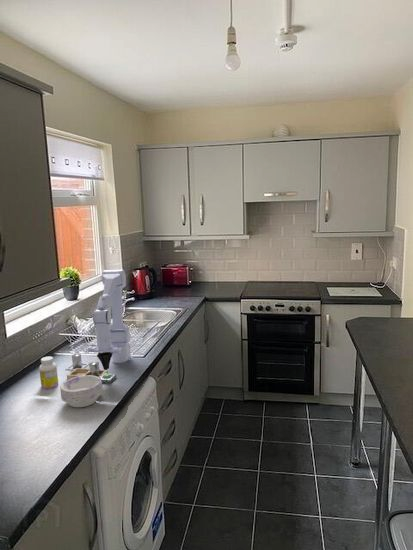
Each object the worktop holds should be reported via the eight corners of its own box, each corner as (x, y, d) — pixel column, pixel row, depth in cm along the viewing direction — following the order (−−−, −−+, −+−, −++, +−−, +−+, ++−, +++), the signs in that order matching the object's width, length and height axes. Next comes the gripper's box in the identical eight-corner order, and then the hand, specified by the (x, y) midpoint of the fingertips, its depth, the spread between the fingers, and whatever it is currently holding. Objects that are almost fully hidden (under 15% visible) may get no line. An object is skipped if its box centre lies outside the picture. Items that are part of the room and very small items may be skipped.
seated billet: (93, 374, 187) (92, 361, 186) (101, 374, 186) (100, 361, 185) (88, 378, 183) (87, 364, 182) (97, 378, 182) (96, 365, 181)
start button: (105, 380, 182) (105, 373, 182) (111, 380, 181) (111, 374, 181) (102, 383, 179) (102, 376, 179) (108, 383, 179) (108, 376, 178)
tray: (74, 365, 200) (74, 362, 200) (89, 366, 199) (89, 363, 198) (65, 371, 193) (65, 368, 193) (80, 372, 191) (80, 369, 191)
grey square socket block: (104, 378, 184) (104, 373, 184) (116, 379, 183) (116, 374, 182) (98, 384, 178) (97, 379, 178) (110, 385, 177) (109, 380, 176)
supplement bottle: (41, 386, 179) (38, 356, 177) (58, 383, 181) (55, 354, 179) (41, 392, 173) (38, 362, 170) (58, 389, 175) (55, 359, 173)
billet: (75, 365, 198) (74, 353, 197) (83, 366, 197) (82, 353, 196) (71, 369, 194) (70, 356, 193) (79, 369, 193) (78, 357, 192)
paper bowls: (73, 392, 172) (71, 373, 171) (109, 393, 170) (108, 375, 168) (54, 410, 158) (52, 390, 156) (93, 412, 155) (91, 392, 153)
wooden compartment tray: (77, 373, 191) (76, 368, 190) (108, 375, 187) (107, 370, 187) (67, 380, 183) (66, 375, 183) (99, 383, 180) (98, 377, 179)
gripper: (82, 340, 175) (85, 371, 177) (115, 341, 171) (118, 373, 174) (91, 334, 182) (94, 365, 184) (123, 336, 178) (125, 367, 181)
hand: (106, 368), depth 180 cm, fingers closed
